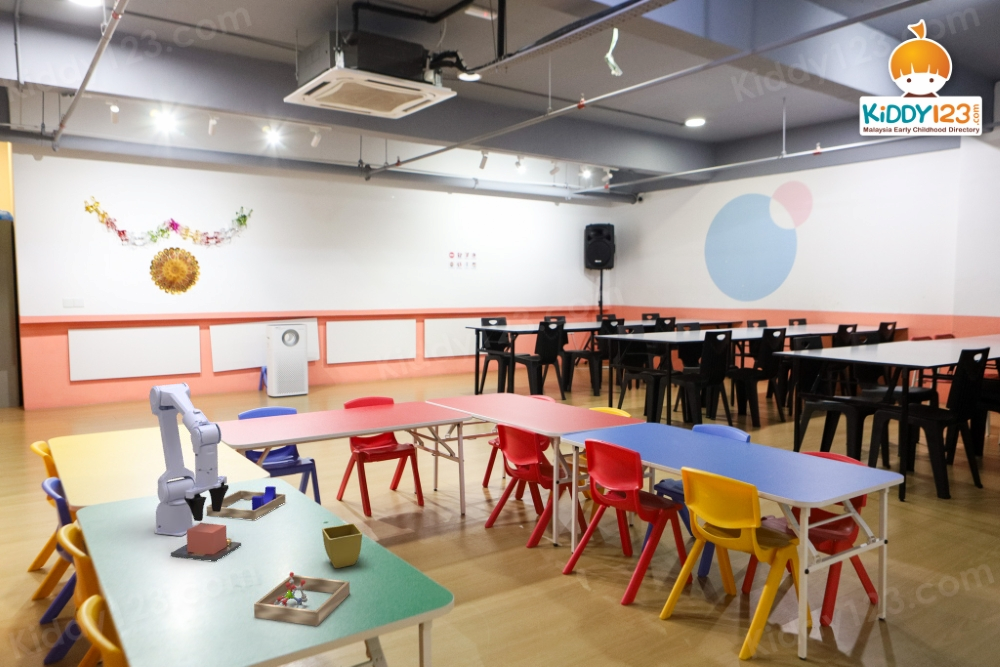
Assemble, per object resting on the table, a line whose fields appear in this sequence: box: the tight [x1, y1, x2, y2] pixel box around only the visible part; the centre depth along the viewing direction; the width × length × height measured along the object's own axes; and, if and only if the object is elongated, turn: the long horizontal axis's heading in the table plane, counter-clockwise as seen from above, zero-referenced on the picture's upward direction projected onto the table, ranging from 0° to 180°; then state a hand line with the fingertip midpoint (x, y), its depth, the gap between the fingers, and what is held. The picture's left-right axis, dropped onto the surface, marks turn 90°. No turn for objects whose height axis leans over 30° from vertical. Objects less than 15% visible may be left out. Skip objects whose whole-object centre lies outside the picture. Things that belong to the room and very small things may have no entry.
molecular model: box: [270, 571, 308, 608], centre depth 150 cm, size 7×8×8 cm
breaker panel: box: [170, 538, 242, 562], centre depth 182 cm, size 14×11×2 cm
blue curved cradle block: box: [251, 486, 277, 510], centre depth 216 cm, size 12×4×6 cm, turn 177°
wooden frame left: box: [206, 490, 286, 521], centre depth 216 cm, size 17×17×3 cm
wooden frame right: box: [253, 574, 351, 627], centre depth 151 cm, size 15×15×3 cm
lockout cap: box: [186, 522, 228, 555], centre depth 180 cm, size 8×6×6 cm
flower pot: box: [321, 523, 363, 569], centre depth 174 cm, size 9×9×9 cm
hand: (207, 515), depth 183 cm, fingers open, 7 cm apart
